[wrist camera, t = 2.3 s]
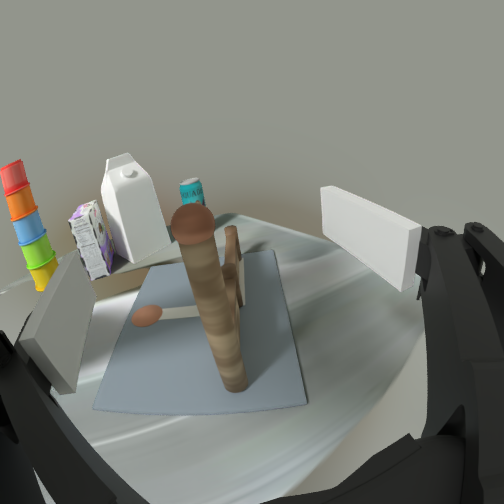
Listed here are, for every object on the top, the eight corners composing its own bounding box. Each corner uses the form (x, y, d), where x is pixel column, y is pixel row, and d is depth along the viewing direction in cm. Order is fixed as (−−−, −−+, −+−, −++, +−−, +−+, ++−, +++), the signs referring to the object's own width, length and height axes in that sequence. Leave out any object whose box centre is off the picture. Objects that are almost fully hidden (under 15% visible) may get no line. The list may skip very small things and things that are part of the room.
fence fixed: (228, 310, 45) (219, 272, 42) (230, 257, 61) (224, 226, 58) (243, 308, 45) (235, 270, 42) (241, 255, 61) (236, 224, 58)
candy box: (96, 258, 73) (78, 205, 66) (114, 252, 75) (97, 198, 67) (90, 281, 61) (66, 220, 54) (111, 275, 63) (88, 212, 55)
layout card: (93, 409, 30) (91, 407, 29) (151, 268, 63) (151, 266, 63) (306, 404, 29) (306, 402, 29) (273, 251, 63) (272, 249, 62)
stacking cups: (67, 269, 70) (30, 154, 54) (62, 285, 61) (17, 158, 45) (40, 279, 67) (1, 169, 51) (33, 296, 58) (-14, 174, 42)
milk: (150, 236, 81) (128, 151, 69) (171, 243, 74) (148, 147, 62) (117, 253, 74) (90, 164, 62) (134, 263, 67) (104, 162, 55)
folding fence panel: (224, 312, 45) (193, 171, 34) (247, 310, 45) (221, 166, 34) (221, 395, 31) (161, 216, 20) (251, 393, 31) (208, 207, 20)
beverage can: (198, 239, 74) (185, 184, 67) (186, 235, 77) (174, 183, 70) (215, 231, 77) (204, 177, 70) (203, 227, 81) (192, 177, 74)
